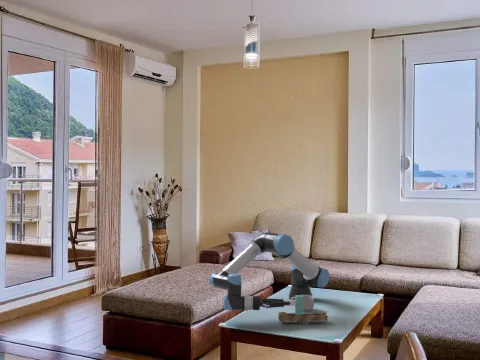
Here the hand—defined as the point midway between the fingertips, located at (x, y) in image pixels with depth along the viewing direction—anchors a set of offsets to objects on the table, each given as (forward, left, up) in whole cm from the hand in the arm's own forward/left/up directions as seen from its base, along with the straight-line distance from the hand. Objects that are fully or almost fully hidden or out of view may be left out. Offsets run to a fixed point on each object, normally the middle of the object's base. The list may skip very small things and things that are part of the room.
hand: (295, 302), depth 286 cm
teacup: (-20, +21, -12) cm, 31 cm away
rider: (0, +2, -8) cm, 8 cm away
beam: (+1, +4, -11) cm, 12 cm away
